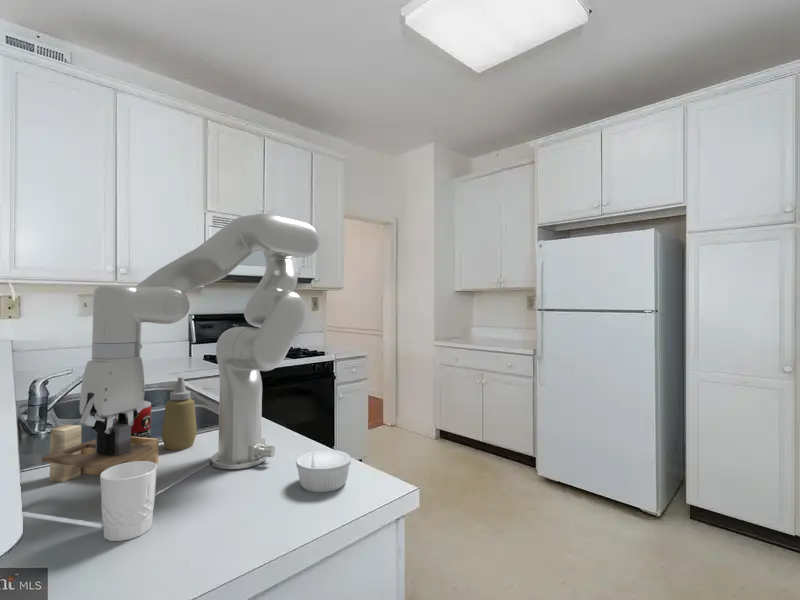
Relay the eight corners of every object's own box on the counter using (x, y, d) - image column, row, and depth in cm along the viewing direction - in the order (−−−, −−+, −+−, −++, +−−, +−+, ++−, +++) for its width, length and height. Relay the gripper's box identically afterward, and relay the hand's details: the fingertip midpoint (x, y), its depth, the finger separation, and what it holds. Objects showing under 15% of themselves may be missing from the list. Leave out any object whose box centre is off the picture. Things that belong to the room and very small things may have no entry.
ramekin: (285, 482, 90) (286, 457, 90) (329, 468, 98) (329, 445, 98) (316, 501, 82) (316, 473, 82) (360, 484, 90) (361, 459, 90)
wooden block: (80, 477, 90) (81, 425, 90) (63, 484, 87) (64, 430, 87) (66, 476, 91) (67, 424, 91) (49, 483, 87) (50, 429, 87)
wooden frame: (151, 449, 83) (152, 420, 83) (104, 469, 73) (106, 435, 73) (95, 443, 86) (96, 414, 86) (42, 461, 76) (43, 428, 76)
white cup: (93, 548, 65) (94, 483, 65) (105, 523, 72) (106, 464, 72) (152, 537, 68) (153, 475, 68) (158, 514, 76) (159, 458, 76)
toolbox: (158, 465, 98) (158, 438, 98) (125, 481, 89) (125, 452, 89) (114, 460, 100) (114, 434, 100) (77, 475, 91) (78, 447, 91)
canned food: (134, 453, 104) (135, 408, 105) (106, 450, 106) (107, 406, 106) (157, 443, 112) (158, 401, 112) (131, 440, 114) (132, 399, 114)
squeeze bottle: (203, 447, 110) (204, 377, 110) (172, 456, 103) (173, 382, 103) (185, 441, 114) (186, 373, 114) (154, 449, 107) (155, 378, 107)
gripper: (135, 346, 88) (132, 436, 88) (57, 355, 72) (53, 464, 72) (166, 348, 86) (163, 439, 86) (93, 357, 71) (90, 469, 70)
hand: (113, 450), depth 79 cm, fingers closed on wooden frame, 2 cm apart
